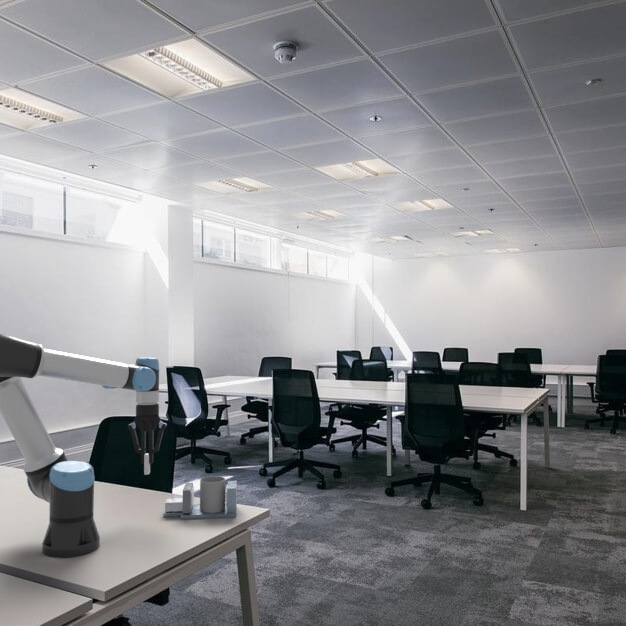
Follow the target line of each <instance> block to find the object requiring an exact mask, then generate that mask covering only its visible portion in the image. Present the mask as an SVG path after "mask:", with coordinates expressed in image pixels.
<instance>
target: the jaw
mask: <svg viewBox="0 0 626 626" xmlns="http://www.w3.org/2000/svg"><path fill="white" fill-rule="evenodd" d="M194 502H195V486H194V483H193V482H186V483H184V486H183V489H182V497H175V498H173V497H172V498H171V497H170V498H166V500H165V502H164V511H165V512H175V511H183V513H191V509H192V506H193V504H194Z"/></svg>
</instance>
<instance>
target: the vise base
mask: <svg viewBox="0 0 626 626" xmlns="http://www.w3.org/2000/svg"><path fill="white" fill-rule="evenodd" d="M237 488H238V487H237V480H228V481H227V484H226V486H225V509H224V510H223V511H220V512H215V513H207V512H202V511H201V510H200V503H199V504H197V503H195V504H194V503H193V506H192V509H191V513H183V511H175V512H165V510H164V511H163V518H167V517H169V518H170V517H171V516H175V517H180V520H189V518H198V519H222V518H223V519H224V518H227V519H228V518H236V517H237V503H238V502H237V499H238V498H237V497H238V496H237V494H238V493H237V490H238V489H237ZM171 518H172V517H171Z"/></svg>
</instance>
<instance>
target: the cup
mask: <svg viewBox="0 0 626 626" xmlns="http://www.w3.org/2000/svg"><path fill="white" fill-rule="evenodd" d="M225 503H226V478H225V477H224V476H216V475H215V476H204V477H202V478H201V479H199V504H200V510H201V511H202V512H207V513H215V512H220V511H223V510H224V509H225Z"/></svg>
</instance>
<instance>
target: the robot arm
mask: <svg viewBox="0 0 626 626" xmlns="http://www.w3.org/2000/svg"><path fill="white" fill-rule="evenodd" d="M37 376H39V377H45V378H51V379H58V380H59V379H60V380H65V381H72V382H78V383H79V382H80V383H85V384H91V385H99V386H102V388H103V389H107V390H108V389H111V390H113V389H124V390H131V391H135V403H137V404H135V418H134V421H133V422H131V423H129V424H128V425H126V426H127V430H129V431H130V435H131V436H130V437H131V439H132V443H133V447H134V452H135V453H136V454H139V455H140V464H141V465H143V472H144V473H143V475H144V476H145V475H146V476H147V475H150V473H151V465H153V462H154V454H156V453H158V452H159V451H160V446H161V442H162V438H163V435H164V431H165V429H166V428H167V425H168V423H167V422H164V421H162V420H161V418H160V404H159V403H158V402H160V383H159V382H160V363H159V359H158V358H157V357H138V358H136V359H135V363H132V364H128V363H123V362H119V361H113V360H112V361H111V360H107V359H102V358H96V357H90V356H85V355H80V354H75V353H68V352H63V351H60V350H59V351H57V350H53V349H47V348H44V347H43V345H42V344H40V343H35V342H30V341H28V340H24V339H20V338H17V337H15V336H11V335H9V334H3V333H2V334H0V414H1V415H2V418H3V419H4V421H5V424H6V425H7V428H8V430H9V431H10V433H11V436H12V437H13V439H14V440H15V443H16V445H17V447H18V449H19V451H20V453H21V455H22V457H23V458H24V460H25V463H24V466H23V469H22V470H23V472H24V473H25V475H26V482H27V487H28V488H29V491H30V492H31V493H32V494H33V495H34V496H35V497H37V499H40V500H43V501H45V502H47V503H48V504H49V519H48V520H49V523H48V525H47V529H46V532H45V535H44V538H43V540H42V544H41V553H42V554H43V555H44V556H47V557H51V558H72V557H77V556H83V555H85V554H89V553H91V552H93V551H95V550H97V549H98V548H99V546H100V545H101V544H100V543H101V541H100V538H101V537H100V534H99V531H98V527H97V525H96V522H95V519H94V512H95V511H94V508H95V507H94V505H95V504H94V503H95V479H96V478H95V470H94V467H93V465H91V464H90V463H88V462H86V461H79V460H68V458H67V456H66V454H65V452H64V450H63V448H60V447H56V446H55V444H54V442H53V440H52V438H51V436H50V434H49V432H48V430H47V428H46V426H45V424H44V422H43V421H42V418H41V416H40V414H39V412H38V410H37V408H36V406H35V404H34V401H33V400H32V398H31V396H30V394H29V392H28V390H27V388H26V385H25V383H24V382H23V379H22V378H26V379H34V378H36V377H37ZM157 426H158V428H159V430H158V434H157V438H156V441H155V442H154V437H155V436H154V435H155V434H154V432H155V429H156V428H157ZM136 427H137V428H138V429H139V431H140V443H139V439H138V435H137V434H138V433H137V431H136ZM147 432H148V452H147V447H146V445H147ZM154 443H155V446H154ZM146 452H147V453H146Z"/></svg>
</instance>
